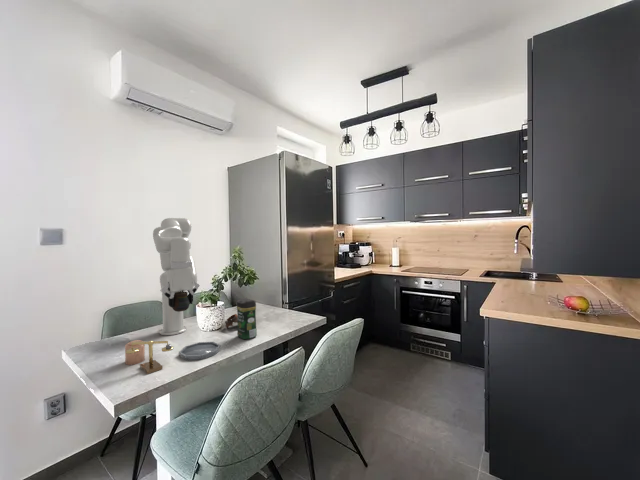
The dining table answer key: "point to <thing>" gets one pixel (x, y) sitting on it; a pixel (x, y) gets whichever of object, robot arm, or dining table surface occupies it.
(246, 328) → the coffee jar
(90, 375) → the dining table surface
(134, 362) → the terracotta cup
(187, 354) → the dish
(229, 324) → the pottery mug
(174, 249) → the robot arm
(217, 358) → the dining table surface
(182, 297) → the mate gourd
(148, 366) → the balance
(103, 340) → the dining table surface
